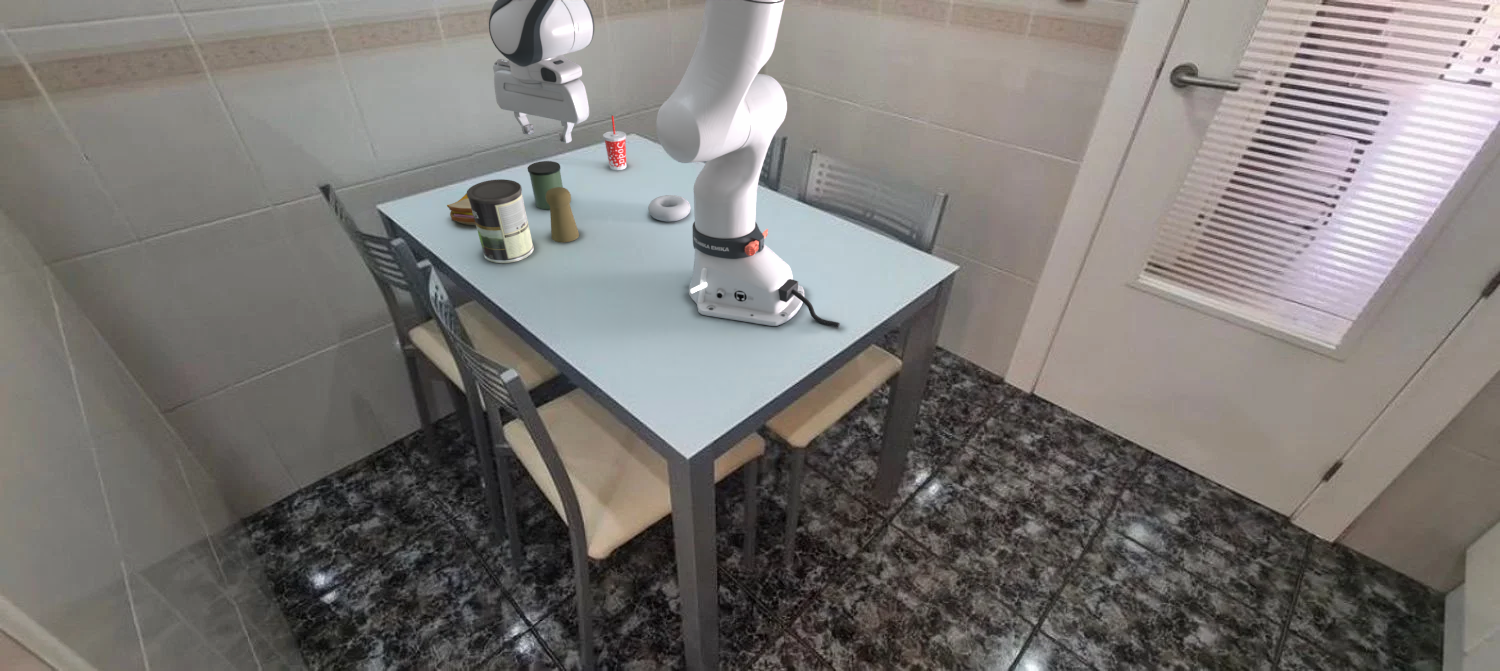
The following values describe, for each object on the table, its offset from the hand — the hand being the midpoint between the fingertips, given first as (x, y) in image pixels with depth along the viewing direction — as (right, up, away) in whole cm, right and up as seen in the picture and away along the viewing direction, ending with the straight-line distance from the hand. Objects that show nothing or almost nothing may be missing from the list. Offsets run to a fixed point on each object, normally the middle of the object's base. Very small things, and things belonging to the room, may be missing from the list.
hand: (547, 137), depth 123 cm
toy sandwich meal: (-22, -12, +20) cm, 33 cm away
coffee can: (-10, -22, +7) cm, 26 cm away
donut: (+22, -11, +23) cm, 34 cm away
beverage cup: (+4, +7, +46) cm, 47 cm away
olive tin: (-8, -7, +27) cm, 29 cm away
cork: (0, -18, +13) cm, 22 cm away
